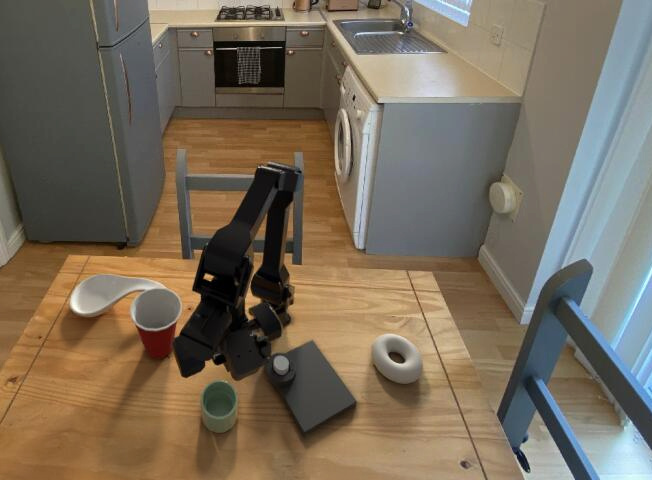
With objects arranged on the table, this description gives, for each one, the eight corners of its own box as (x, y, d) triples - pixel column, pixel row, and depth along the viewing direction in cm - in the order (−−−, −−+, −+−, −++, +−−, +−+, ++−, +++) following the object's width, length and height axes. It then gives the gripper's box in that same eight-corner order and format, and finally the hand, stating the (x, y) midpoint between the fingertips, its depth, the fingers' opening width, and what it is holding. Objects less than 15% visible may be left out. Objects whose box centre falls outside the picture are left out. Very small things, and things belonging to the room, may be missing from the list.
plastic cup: (194, 353, 90) (191, 313, 85) (146, 380, 85) (140, 339, 80) (172, 316, 98) (169, 277, 94) (128, 338, 93) (122, 299, 89)
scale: (260, 369, 86) (260, 359, 85) (312, 344, 91) (313, 334, 90) (299, 439, 75) (300, 429, 73) (356, 406, 80) (358, 395, 78)
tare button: (270, 364, 85) (270, 359, 84) (283, 358, 86) (283, 353, 85) (278, 378, 82) (278, 372, 81) (291, 371, 83) (291, 366, 83)
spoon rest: (64, 325, 96) (58, 303, 94) (81, 284, 107) (77, 263, 104) (166, 326, 96) (164, 304, 93) (173, 285, 107) (171, 263, 104)
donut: (373, 383, 84) (427, 392, 82) (375, 371, 82) (429, 380, 80) (367, 337, 93) (416, 345, 91) (369, 326, 91) (418, 333, 89)
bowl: (196, 405, 80) (195, 389, 78) (228, 389, 83) (227, 373, 81) (210, 441, 75) (209, 426, 73) (244, 423, 77) (244, 407, 75)
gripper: (190, 373, 59) (195, 440, 65) (302, 324, 66) (297, 389, 72) (167, 311, 68) (173, 375, 74) (267, 274, 75) (265, 335, 81)
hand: (228, 369), depth 75 cm, fingers closed
